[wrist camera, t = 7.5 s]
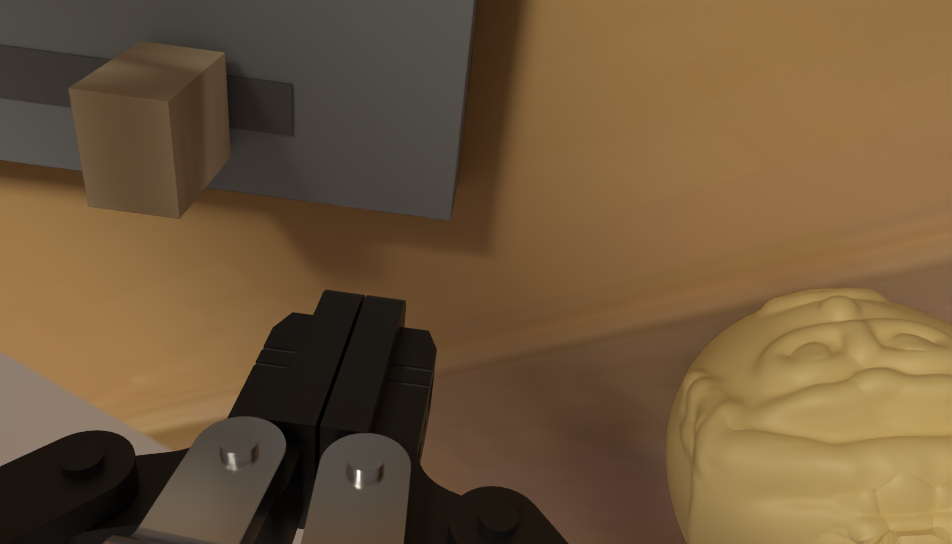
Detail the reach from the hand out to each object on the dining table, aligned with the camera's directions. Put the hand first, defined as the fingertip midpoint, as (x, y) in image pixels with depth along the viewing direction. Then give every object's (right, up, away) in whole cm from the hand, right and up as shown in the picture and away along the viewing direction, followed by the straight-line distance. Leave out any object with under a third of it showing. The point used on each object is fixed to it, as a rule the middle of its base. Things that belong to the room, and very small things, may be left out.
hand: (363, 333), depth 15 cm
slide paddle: (-6, +6, +8) cm, 12 cm away
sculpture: (+15, -3, +16) cm, 22 cm away
